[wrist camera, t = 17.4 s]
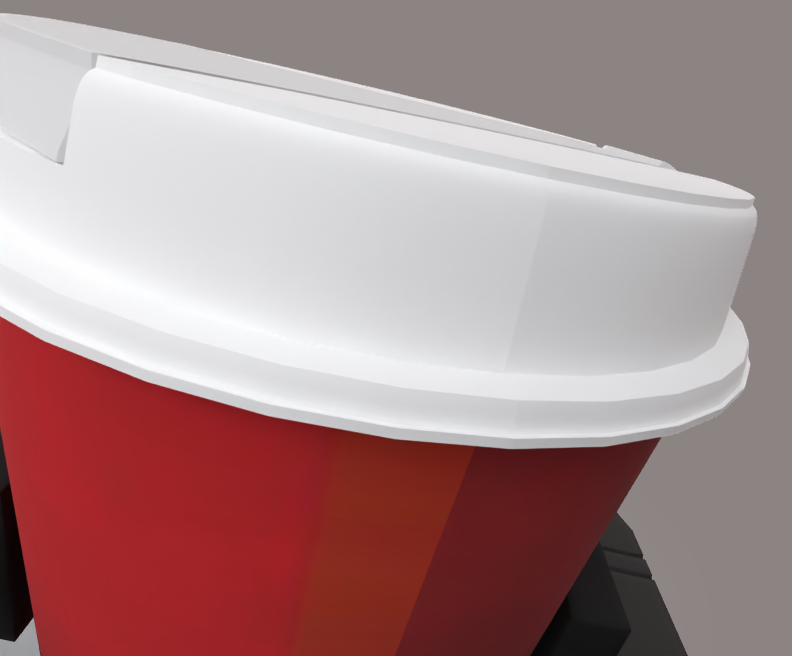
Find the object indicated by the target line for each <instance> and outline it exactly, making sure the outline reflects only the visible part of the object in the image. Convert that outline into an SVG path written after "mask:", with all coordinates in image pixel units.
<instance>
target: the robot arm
mask: <svg viewBox="0 0 792 656" xmlns="http://www.w3.org/2000/svg"><path fill="white" fill-rule="evenodd" d="M33 617H34V616H33V610H32V604H31V599H30V593H29V587H28V582H27V576H26V570H25V565H24V559H23V553H22V547H21V542H20V536H19V530H18V525H17V519H16V514H15V508H14V502H13V497H12V491H11V485H10V480H9V474H8V468H7V463H6V457H5V452H4V446H3V440H2V435H1V429H0V639H3V640H8V641H13V642H15V641H16V640H17V638H18V637H19V636H20V634H21V633H22V632H23V630H24V629H25V628H26V626H27V625H28V624H29V622H30V621H31V620H32V618H33ZM530 656H688V655H687V653H686V651H685V649H684V646H683V644H682V642H681V640H680V637H679V635H678V633H677V631H676V628H675V626H674V624H673V622H672V619H671V617H670V615H669V613H668V610H667V608H666V606H665V603H664V601H663V599H662V597H661V594H660V592H659V590H658V588H657V585H656V583H655V581H654V580H652V574H651V572H650V570H649V567H648V565H647V563H646V561H645V560H644V559H643V554H642V551H641V549H640V547H639V545H638V542H637V540H636V538H635V536H634V533H633V531H632V530H631V528H630V527H629V526H628V525H627V524H626V523H625V522H624V520H623V519H622V518H621V517H620V516H619V515H618V513H617V512H616V514H615V515H614V517H613V519H612V520H611V522H610V524H609V525H608V527H607V529H606V530H605V532H604V534H603V535H602V537H601V539H600V540H599V542H598V544H597V545H596V547H595V549H594V550H593V552H592V554H591V555H590V557H589V559H588V560H587V562H586V564H585V565H584V567H583V569H582V570H581V572H580V574H579V575H578V577H577V579H576V580H575V582H574V584H573V585H572V587H571V589H570V590H569V592H568V594H567V595H566V597H565V599H564V600H563V602H562V604H561V605H560V607H559V609H558V610H557V612H556V614H555V615H554V617H553V619H552V620H551V622H550V624H549V625H548V627H547V629H546V630H545V632H544V634H543V635H542V637H541V639H540V640H539V642H538V644H537V645H536V647H535V649H534V650H533V652H532V654H531V655H530Z"/></svg>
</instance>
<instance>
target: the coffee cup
mask: <svg viewBox="0 0 792 656" xmlns="http://www.w3.org/2000/svg"><path fill="white" fill-rule="evenodd" d="M754 199H755V197H754V196H752V195H751V194H749V193H748V192H746V191H743V190H741V189H739V188H736V187H734V186H731V185H728V184H726V183H722V182H720V181H717V180H714V179H709V178H705V177H700V176H696V175H692V174H687V173H682V172H678V171H676V170H675V169H674V168H673V167H672V166H671V165H669V164H668V163H667V162H663V161H660V160H656V159H653V158H649V157H646V156H642V155H639V154H636V153H632V152H629V151H625V150H622V149H618V148H615V147H612V146H607V145H606V146H604V147H603V148H599V147H596V144H593V143H589V142H585V141H582V140H578V139H574V138H570V137H567V136H563V135H559V134H556V133H552V132H548V131H544V130H540V129H537V128H533V127H529V126H525V125H521V124H517V123H514V122H510V121H506V120H502V119H498V118H494V117H490V116H486V115H482V114H478V113H474V112H470V111H466V110H462V109H458V108H454V107H450V106H446V105H442V104H438V103H434V102H430V101H426V100H422V99H418V98H414V97H410V96H405V95H402V94H397V93H393V92H389V91H385V90H381V89H377V88H372V87H368V86H364V85H360V84H356V83H351V82H347V81H343V80H339V79H334V78H330V77H326V76H321V75H317V74H313V73H309V72H304V71H300V70H295V69H291V68H286V67H282V66H278V65H273V64H269V63H264V62H260V61H255V60H251V59H247V58H242V57H237V56H232V55H228V54H224V53H219V52H215V51H210V50H205V49H201V48H197V47H194V46H189V45H184V44H179V43H174V42H169V41H165V40H159V39H155V38H150V37H145V36H140V35H135V34H130V33H125V32H119V31H115V30H110V29H104V28H99V27H93V26H89V25H83V24H78V23H72V22H66V21H60V20H54V19H48V18H41V17H34V16H26V15H17V14H4V13H1V14H0V429H1V435H2V440H3V446H4V452H5V457H6V463H7V468H8V474H9V480H10V485H11V491H12V497H13V502H14V508H15V514H16V519H17V525H18V530H19V536H20V542H21V547H22V553H23V559H24V565H25V570H26V576H27V582H28V587H29V593H30V599H31V604H32V610H33V616H34V621H35V627H36V633H37V638H38V644H39V650H40V655H41V656H530V655H531V654H532V652H533V650H534V649H535V647H536V645H537V644H538V642H539V640H540V639H541V637H542V635H543V634H544V632H545V630H546V629H547V627H548V625H549V624H550V622H551V620H552V619H553V617H554V615H555V614H556V612H557V610H558V609H559V607H560V605H561V604H562V602H563V600H564V599H565V597H566V595H567V594H568V592H569V590H570V589H571V587H572V585H573V584H574V582H575V580H576V579H577V577H578V575H579V574H580V572H581V570H582V569H583V567H584V565H585V564H586V562H587V560H588V559H589V557H590V555H591V554H592V552H593V550H594V549H595V547H596V545H597V544H598V542H599V540H600V539H601V537H602V535H603V534H604V532H605V530H606V529H607V527H608V525H609V524H610V522H611V520H612V519H613V517H614V515H615V514H616V512H617V510H618V509H619V507H620V505H621V504H622V502H623V500H624V499H625V497H626V495H627V494H628V492H629V490H630V489H631V487H632V485H633V484H634V482H635V480H636V479H637V477H638V475H639V474H640V472H641V470H642V469H643V467H644V465H645V464H646V462H647V460H648V459H649V457H650V455H651V453H652V452H653V450H654V449H655V447H656V445H657V443H658V442H659V440H660V439H661V437H663V436H669V435H675V434H677V433H679V432H682V431H684V430H687V429H688V428H691V427H694V426H696V425H698V424H700V423H703V422H706V421H708V420H710V419H713V418H715V417H717V416H719V415H720V414H721V413H722V412H723V411H724V410H725V409H726V408H727V407H728V406H729V405H730V404H731V403H732V402H733V401H735V399H737V397H739V395H740V394H741V393H742V391H743V390H744V388H745V385H746V381H747V377H748V372H749V368H750V362H749V359H748V352H749V341H748V338H747V335H746V332H745V329H744V327H743V324H742V322H741V321H740V319H739V318H738V317H737V316H736V314H735V313H734V312H733V311H732V309H731V308H730V306H731V303H732V300H733V297H734V294H735V291H736V288H737V285H738V282H739V279H740V276H741V273H742V270H743V267H744V264H745V261H746V258H747V254H748V251H749V248H750V245H751V241H752V238H753V235H754V232H755V229H756V223H757V212H756V209H755V208H754V206H753V203H754Z"/></svg>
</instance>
